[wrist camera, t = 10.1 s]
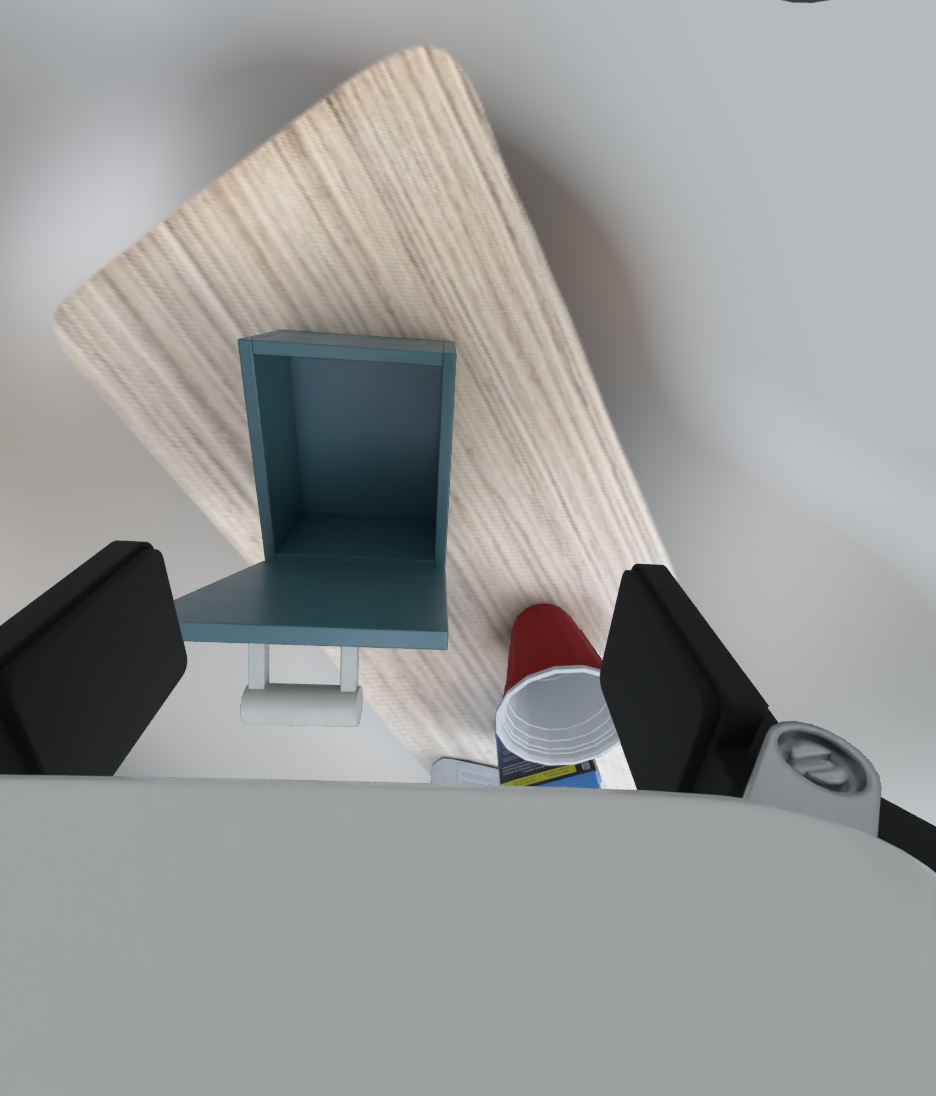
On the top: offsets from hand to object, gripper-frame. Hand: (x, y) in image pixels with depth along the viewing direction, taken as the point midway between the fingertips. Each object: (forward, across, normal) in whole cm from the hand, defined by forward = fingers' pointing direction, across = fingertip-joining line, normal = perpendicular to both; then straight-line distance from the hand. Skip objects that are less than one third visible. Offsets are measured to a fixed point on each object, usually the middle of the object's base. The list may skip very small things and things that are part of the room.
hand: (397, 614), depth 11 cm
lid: (+15, +5, +9) cm, 18 cm away
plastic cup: (+31, -11, +23) cm, 40 cm away
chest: (+31, +5, +5) cm, 32 cm away
